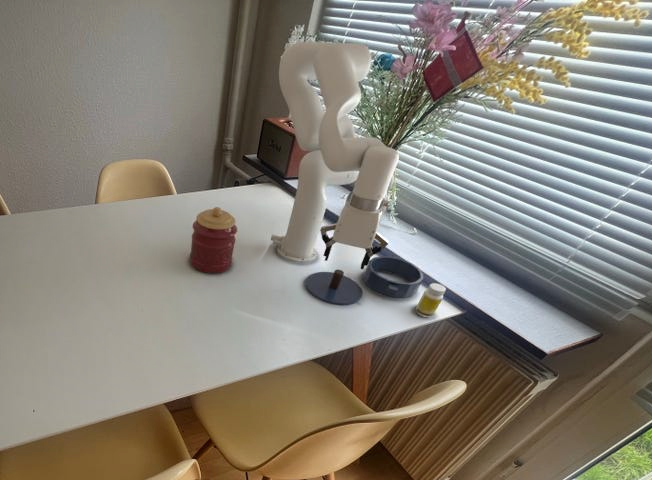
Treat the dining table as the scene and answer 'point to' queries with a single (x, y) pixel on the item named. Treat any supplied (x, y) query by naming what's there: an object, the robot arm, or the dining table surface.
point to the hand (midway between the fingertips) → (344, 262)
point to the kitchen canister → (213, 241)
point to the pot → (389, 286)
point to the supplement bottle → (430, 300)
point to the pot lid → (334, 288)
